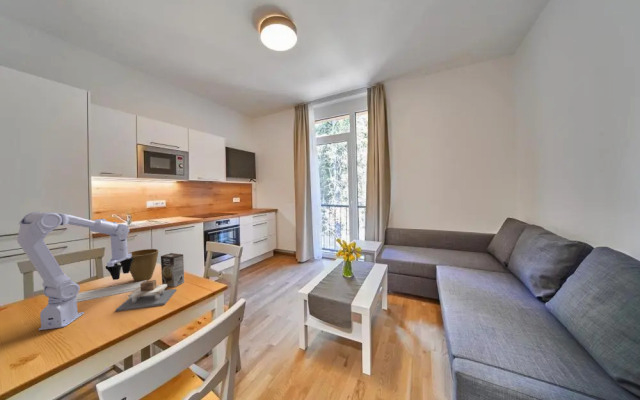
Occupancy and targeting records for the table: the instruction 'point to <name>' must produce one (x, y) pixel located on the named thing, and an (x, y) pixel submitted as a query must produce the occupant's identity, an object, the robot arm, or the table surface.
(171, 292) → the peg stand
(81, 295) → the baseboard molding
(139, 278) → the plant pot
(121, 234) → the robot arm
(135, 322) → the table surface
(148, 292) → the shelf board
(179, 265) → the coffee box
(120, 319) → the table surface
